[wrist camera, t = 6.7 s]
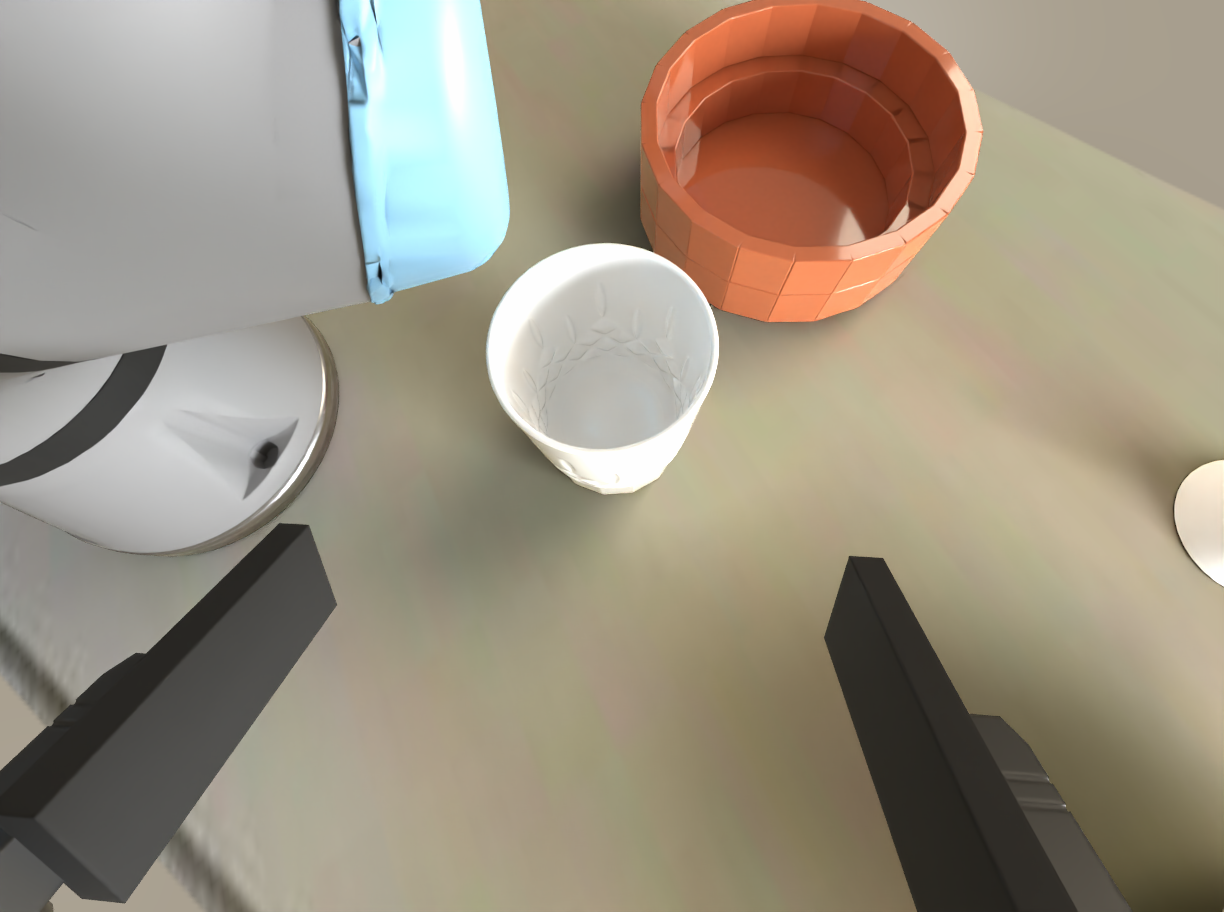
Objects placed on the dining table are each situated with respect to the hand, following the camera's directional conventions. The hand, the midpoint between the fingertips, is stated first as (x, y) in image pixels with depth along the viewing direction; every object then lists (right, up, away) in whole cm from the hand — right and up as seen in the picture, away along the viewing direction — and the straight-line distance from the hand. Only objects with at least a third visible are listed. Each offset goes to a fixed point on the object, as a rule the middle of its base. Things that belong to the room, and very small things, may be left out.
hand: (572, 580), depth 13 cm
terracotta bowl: (+10, +18, +17) cm, 27 cm away
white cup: (+1, +4, +14) cm, 15 cm away
